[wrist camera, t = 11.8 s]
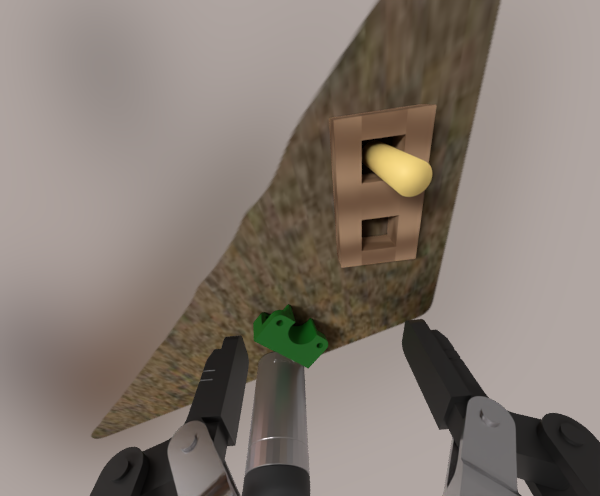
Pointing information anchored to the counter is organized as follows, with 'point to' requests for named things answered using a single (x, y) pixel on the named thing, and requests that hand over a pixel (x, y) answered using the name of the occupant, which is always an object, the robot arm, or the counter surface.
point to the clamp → (290, 336)
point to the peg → (397, 168)
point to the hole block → (377, 184)
